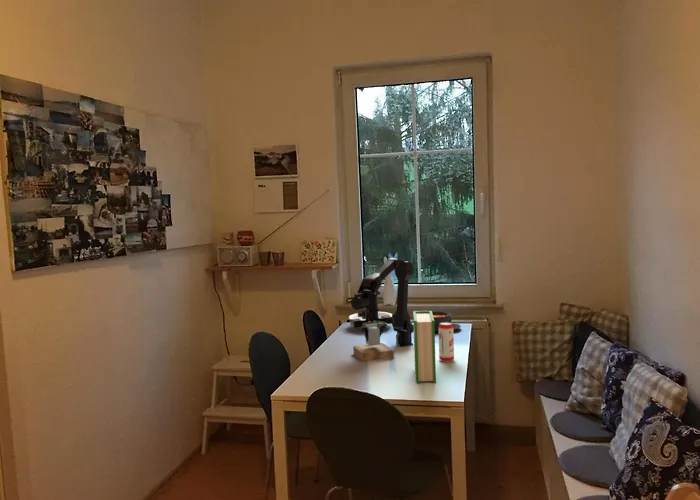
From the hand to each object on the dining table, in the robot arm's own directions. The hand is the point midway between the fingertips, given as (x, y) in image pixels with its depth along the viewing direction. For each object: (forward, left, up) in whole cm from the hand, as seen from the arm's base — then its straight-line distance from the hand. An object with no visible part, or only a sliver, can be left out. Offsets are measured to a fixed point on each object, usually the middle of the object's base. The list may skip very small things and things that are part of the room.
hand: (372, 340), depth 252 cm
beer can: (-26, +20, -7) cm, 34 cm away
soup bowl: (-17, -50, -7) cm, 54 cm away
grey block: (0, 0, -2) cm, 2 cm away
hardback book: (-9, +35, -7) cm, 37 cm away
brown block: (0, 0, -8) cm, 8 cm away
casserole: (-46, -31, -7) cm, 56 cm away
